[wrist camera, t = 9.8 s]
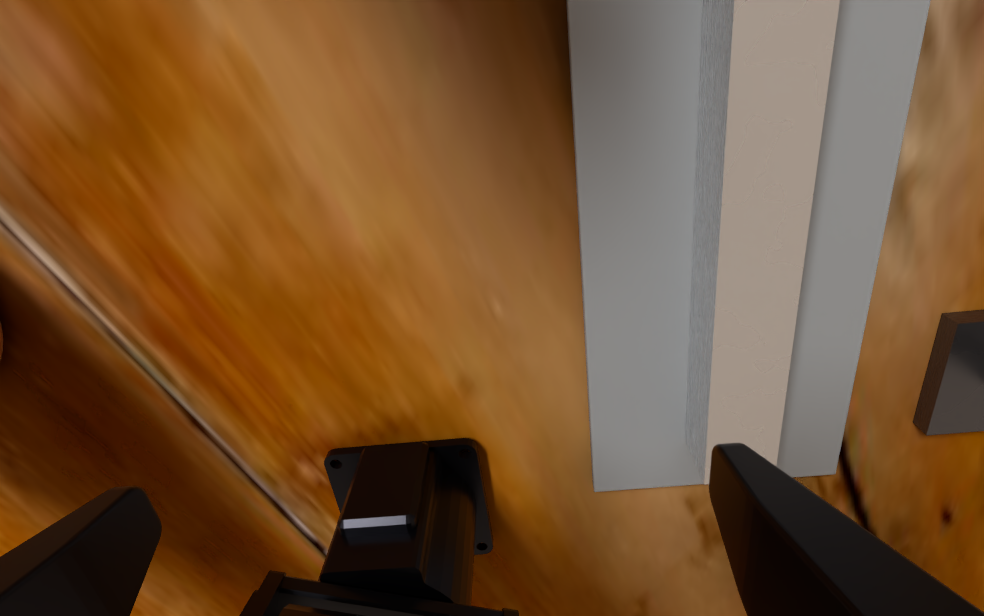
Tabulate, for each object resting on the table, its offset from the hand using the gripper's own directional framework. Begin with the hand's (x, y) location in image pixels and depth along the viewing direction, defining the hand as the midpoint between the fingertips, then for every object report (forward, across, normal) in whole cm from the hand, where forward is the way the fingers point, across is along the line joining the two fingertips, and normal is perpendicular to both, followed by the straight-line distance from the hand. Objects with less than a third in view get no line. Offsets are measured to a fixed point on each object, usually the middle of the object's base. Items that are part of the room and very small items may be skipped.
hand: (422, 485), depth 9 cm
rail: (+11, -9, -2) cm, 15 cm away
